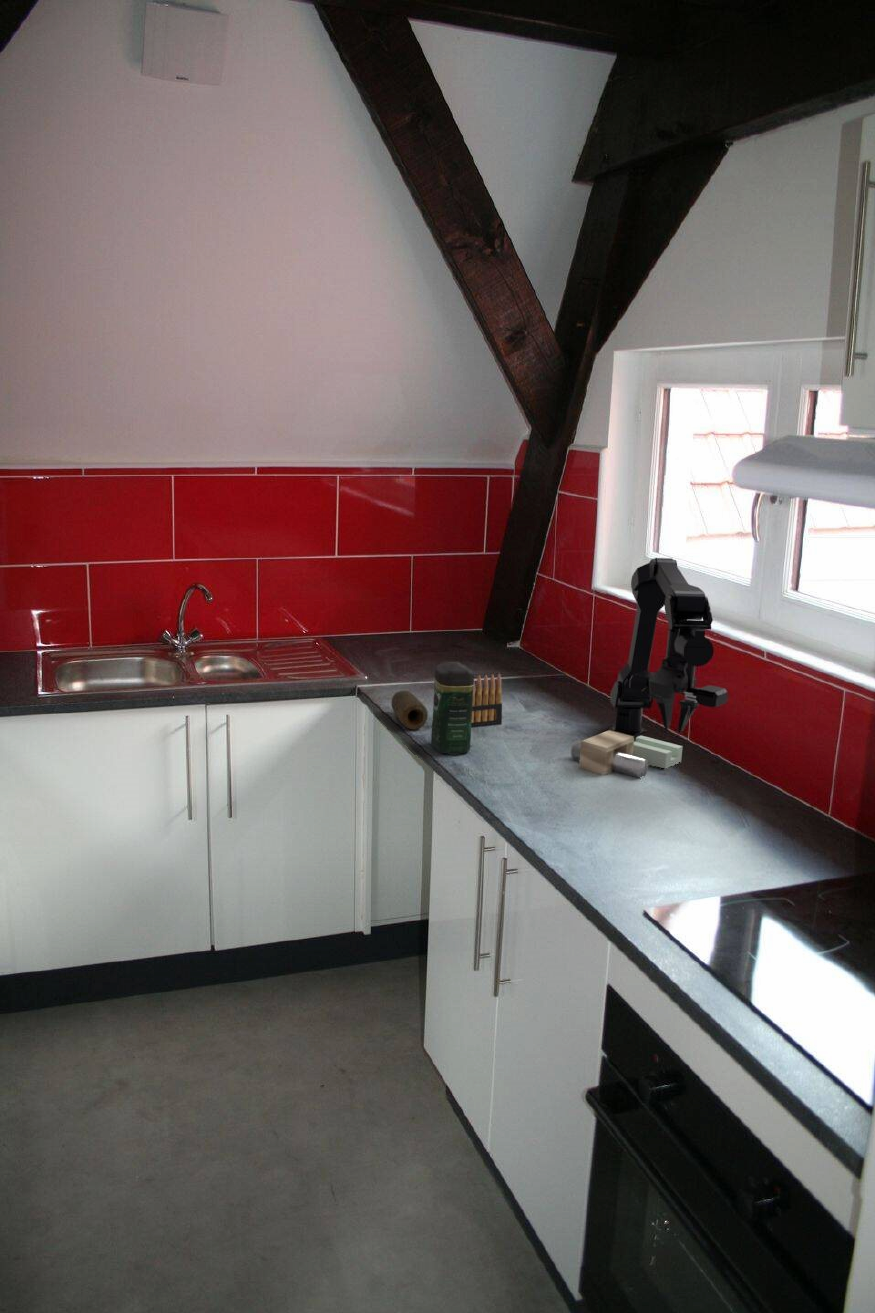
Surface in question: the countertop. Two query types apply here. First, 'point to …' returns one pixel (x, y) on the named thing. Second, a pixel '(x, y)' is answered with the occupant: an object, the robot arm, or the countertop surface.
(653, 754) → the v block
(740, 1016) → the countertop surface
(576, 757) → the axle
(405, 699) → the brown hollow cylinder
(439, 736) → the coffee jar
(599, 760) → the wooden bridge block
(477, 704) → the ammunition clip
